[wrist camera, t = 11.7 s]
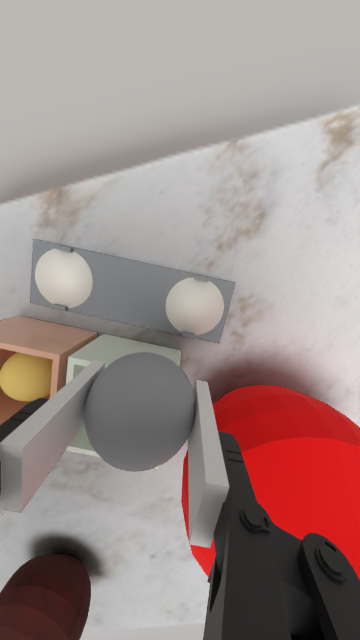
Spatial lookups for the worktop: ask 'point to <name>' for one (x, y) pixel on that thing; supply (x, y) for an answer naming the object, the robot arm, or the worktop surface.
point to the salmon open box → (39, 351)
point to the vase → (293, 465)
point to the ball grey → (139, 411)
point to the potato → (46, 600)
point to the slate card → (129, 291)
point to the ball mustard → (26, 377)
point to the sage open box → (105, 351)
